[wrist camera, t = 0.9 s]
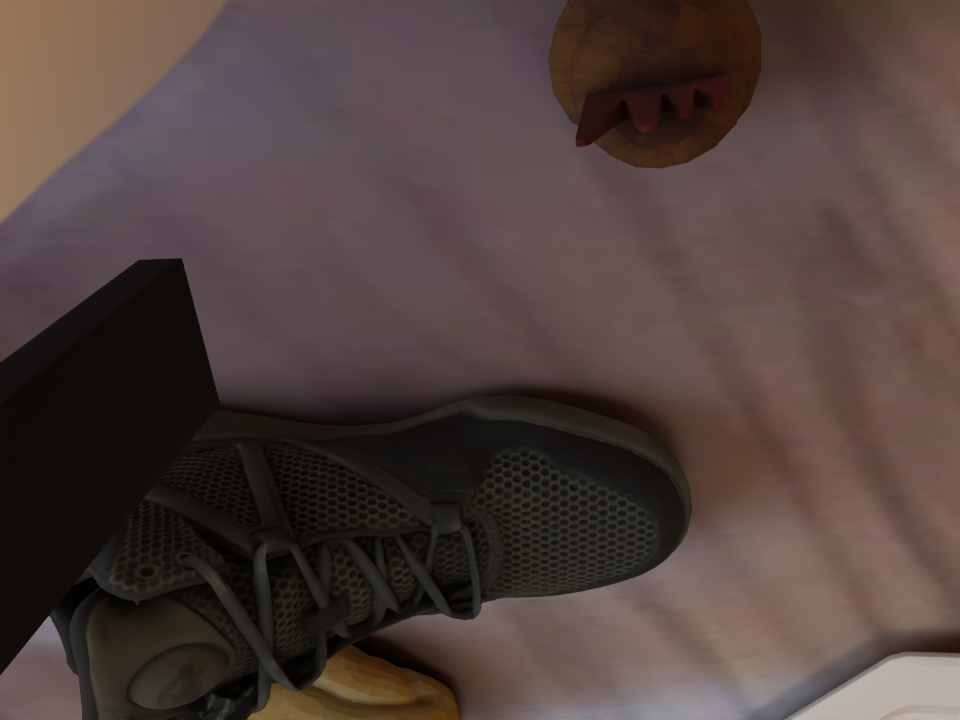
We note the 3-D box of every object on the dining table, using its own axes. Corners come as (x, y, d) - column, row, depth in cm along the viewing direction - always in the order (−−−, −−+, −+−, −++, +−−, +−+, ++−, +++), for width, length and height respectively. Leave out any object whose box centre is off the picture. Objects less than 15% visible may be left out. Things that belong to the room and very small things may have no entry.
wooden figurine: (546, 95, 35) (495, 214, 22) (582, -63, 33) (548, -33, 19) (713, 133, 35) (762, 277, 22) (763, -22, 32) (853, 37, 19)
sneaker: (688, 547, 46) (729, 863, 31) (164, 566, 51) (-11, 845, 36) (677, 334, 40) (722, 601, 25) (88, 379, 45) (-155, 623, 30)
